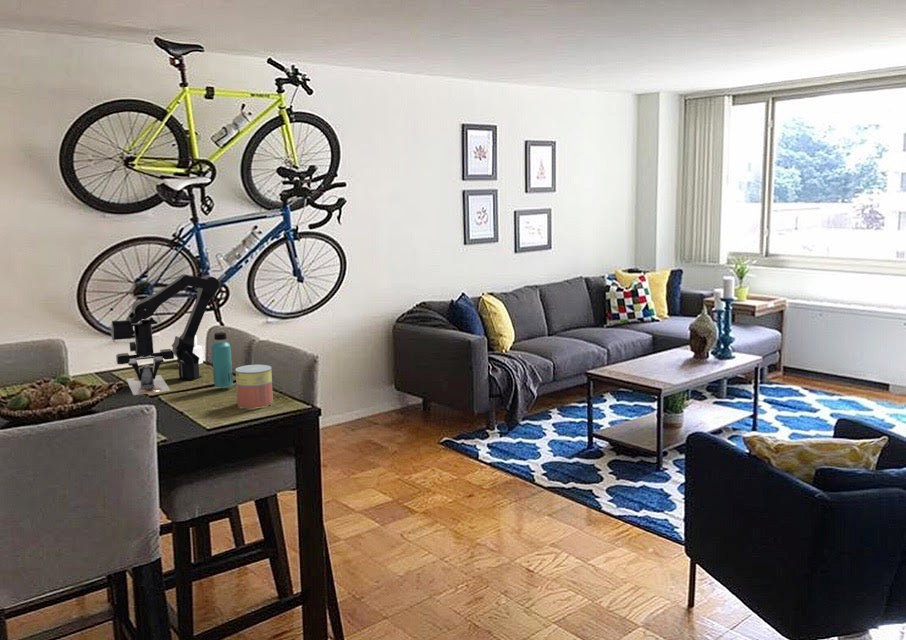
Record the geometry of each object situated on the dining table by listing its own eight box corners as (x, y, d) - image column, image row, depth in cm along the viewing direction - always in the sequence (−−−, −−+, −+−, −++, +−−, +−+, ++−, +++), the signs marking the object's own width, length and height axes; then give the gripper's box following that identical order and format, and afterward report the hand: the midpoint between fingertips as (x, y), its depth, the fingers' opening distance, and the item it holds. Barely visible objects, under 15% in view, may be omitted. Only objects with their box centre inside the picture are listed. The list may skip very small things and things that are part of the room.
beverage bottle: (230, 391, 264) (227, 334, 260) (211, 391, 263) (207, 334, 260) (235, 386, 270) (232, 331, 267) (217, 386, 270) (213, 331, 267)
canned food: (244, 399, 253) (242, 364, 251) (277, 399, 253) (275, 364, 251) (232, 409, 242) (230, 372, 240) (267, 409, 242) (265, 372, 240)
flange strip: (125, 378, 282) (125, 374, 282) (160, 374, 288) (159, 370, 288) (133, 395, 259) (133, 390, 259) (170, 390, 265) (170, 385, 265)
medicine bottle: (177, 366, 303) (175, 336, 300) (187, 362, 309) (185, 333, 307) (193, 366, 301) (191, 337, 299) (203, 362, 308) (201, 333, 306)
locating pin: (156, 382, 276) (155, 364, 275) (148, 385, 272) (146, 367, 270) (146, 381, 277) (144, 364, 276) (137, 384, 273) (136, 366, 272)
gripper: (168, 331, 283) (171, 372, 285) (113, 336, 274) (116, 378, 277) (172, 336, 273) (175, 378, 276) (115, 341, 264) (119, 385, 267)
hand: (147, 379), depth 274 cm, fingers closed on locating pin, 4 cm apart
